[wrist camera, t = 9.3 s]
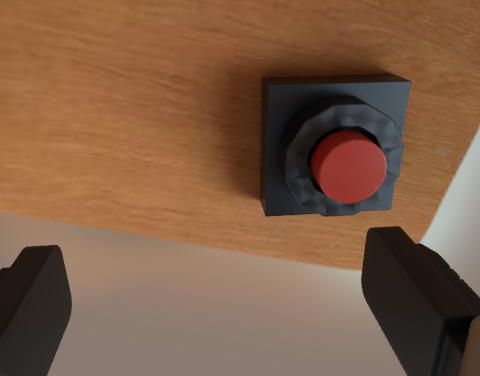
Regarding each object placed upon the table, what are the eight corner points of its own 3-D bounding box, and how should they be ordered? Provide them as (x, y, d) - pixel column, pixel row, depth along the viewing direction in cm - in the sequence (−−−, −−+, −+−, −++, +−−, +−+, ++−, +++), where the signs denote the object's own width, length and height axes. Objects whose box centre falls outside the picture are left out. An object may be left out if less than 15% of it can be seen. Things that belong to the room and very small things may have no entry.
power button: (370, 189, 24) (382, 202, 23) (308, 192, 24) (316, 205, 22) (377, 128, 23) (392, 137, 21) (312, 130, 23) (321, 140, 21)
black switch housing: (377, 194, 29) (403, 223, 25) (260, 201, 28) (270, 231, 24) (394, 74, 25) (427, 87, 22) (261, 77, 25) (274, 91, 21)
